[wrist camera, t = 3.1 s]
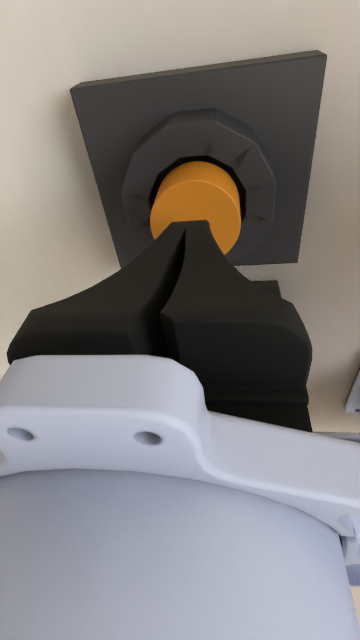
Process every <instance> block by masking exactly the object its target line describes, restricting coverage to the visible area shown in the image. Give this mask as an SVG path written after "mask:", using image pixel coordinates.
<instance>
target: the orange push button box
mask: <svg viewBox="0 0 360 640" xmlns="http://www.w3.org/2000/svg"><path fill="white" fill-rule="evenodd" d="M326 60H327V55H326V54H324V53H322V52H320V51H318V50H315V51H308V52H301V53H293V54H286V55H279V56H271V57H264V58H257V59H249V60H242V61H235V62H228V63H220V64H213V65H206V66H198V67H191V68H184V69H176V70H169V71H162V72H155V73H147V74H140V75H133V76H125V77H118V78H111V79H104V80H96V81H89V82H82V83H80V84H78V85H76V86H74V87H72V88H71V89H70V93H71V96H72V100H73V103H74V107H75V110H76V114H77V117H78V120H79V124H80V127H81V131H82V134H83V138H84V141H85V145H86V148H87V152H88V155H89V159H90V162H91V166H92V169H93V173H94V176H95V180H96V183H97V186H98V190H99V193H100V197H101V200H102V204H103V207H104V211H105V214H106V218H107V221H108V225H109V228H110V232H111V235H112V239H113V242H114V246H115V249H116V253H117V256H118V259H119V263H120V266H121V269H122V268H124V267H125V266H126V265H128V264H129V263H130V262H131V261H133V260H134V259H135V258H136V257H137V256H138V255H139V254H141V253H142V252H143V251H144V250H145V249H146V248H147V247H148V246H149V245H150V244H151V243H152V242H153V241H154V240H155V239H154V237H153V235H152V231H151V227H150V215H151V210H152V207H153V204H154V201H155V199H156V196H157V193H158V190H159V187H160V185H161V183H162V181H163V180H164V178H165V177H166V176H167V174H168V173H169V172H171V171H172V170H173V169H174V168H176V167H177V166H180V165H182V164H184V163H188V162H193V161H202V162H208V163H212V164H214V165H217V166H218V167H220V168H222V169H223V170H224V171H226V172H227V173H228V174H229V175H230V177H231V178H232V179H233V181H234V183H235V185H236V187H237V190H238V194H239V202H240V215H241V229H240V233H239V236H238V239H237V241H236V242H235V244H234V245H233V247H232V248H231V249H230V250H229V251H228V252H227V253H226V254H225V256H226V258H227V259H228V260H229V261H230V263H231V264H232V265H233V266H238V265H260V264H282V263H297V262H298V256H299V249H300V242H301V235H302V228H303V221H304V214H305V207H306V200H307V193H308V186H309V179H310V172H311V165H312V158H313V151H314V144H315V137H316V130H317V123H318V116H319V109H320V102H321V95H322V88H323V81H324V74H325V67H326Z"/></svg>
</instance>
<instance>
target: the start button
mask: <svg viewBox="0 0 360 640" xmlns="http://www.w3.org/2000/svg"><path fill="white" fill-rule="evenodd" d="M194 220H207V221H208V222H210V229H211V232H212V234H213V237H214V239H215V241H216V242H217V244H218V246H219V248H220V249H221V251H222V252H223V254H224V255H225V254H226V253H227V252H228V251H229V250H230V249H231V248H232V247H233V245H234V244H235V242H236V241H237V239H238V236H239V233H240V229H241V215H240V202H239V194H238V190H237V187H236V185H235V183H234V181H233V179H232V178H231V177H230V175H229V174H228V173H227V172H226V171H224V170H223V169H222V168H220V167H218V166H217V165H214V164H212V163H208V162H202V161H193V162H188V163H184V164H182V165H180V166H177V167H176V168H174V169H173V170H172V171H171V172H169V173H168V174H167V176H166V177H165V178H164V180H163V181H162V183H161V185H160V187H159V190H158V193H157V196H156V199H155V201H154V204H153V207H152V210H151V215H150V227H151V231H152V235H153V237H154V239H156V238H157V237H158V236H159V235H160V234H161V233H162V232H163V231H164V230H165V229H166V228H167V226H168V225H169V224H170V223H171V222H179V221H194Z"/></svg>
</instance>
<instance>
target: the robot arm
mask: <svg viewBox="0 0 360 640" xmlns="http://www.w3.org/2000/svg"><path fill="white" fill-rule="evenodd" d="M7 358H8V363H9V364H10V367H9V368H8V370H7V371H6V373H5V374H4V376H3V378H2V379H1V381H0V640H360V630H359V626H358V621H357V616H356V612H355V607H354V602H353V598H352V593H351V589H350V587H360V433H338V432H312V427H311V422H310V417H309V412H308V408H307V405H308V402H309V397H308V393H307V388H306V383H307V379H308V375H309V370H310V366H311V362H312V346H311V342H310V339H309V336H308V333H307V331H306V329H305V326H304V324H303V322H302V320H301V318H300V316H299V314H298V312H297V311H296V309H295V307H294V305H293V304H292V303H291V302H288V301H286V300H284V299H282V298H279V297H277V296H275V295H273V294H270V293H268V292H267V291H265V290H263V289H262V288H260V287H258V286H257V285H255V284H254V283H252V282H251V281H250V280H248V279H247V278H246V277H244V276H243V275H242V274H241V273H240V272H239V271H238V270H237V269H236V268H235V267H234V266H233V265H232V264H231V263H230V261H229V260H228V259H227V258H226V256H225V255H224V254H223V252H222V251H221V249H220V248H219V246H218V244H217V242H216V241H215V239H214V237H213V234H212V232H211V229H210V222H208V221H207V220H194V221H179V222H171V223H170V224H169V225H168V226H167V228H166V229H165V230H164V231H163V232H162V233H161V234H160V235H159V236H158V237H157V238H156V239H155V240H154V241H153V242H152V243H151V244H150V245H149V246H148V247H147V248H146V249H145V250H144V251H143V252H142V253H141V254H139V255H138V256H137V257H136V258H135V259H134V260H133V261H131V262H130V263H129V264H128V265H126V266H125V267H124V268H122V269H121V270H119V271H118V272H116V273H115V274H113V275H112V276H110V277H108V278H107V279H105V280H103V281H101V282H99V283H98V284H96V285H94V286H92V287H90V288H88V289H86V290H84V291H82V292H80V293H78V294H75V295H73V296H71V297H68V298H66V299H63V300H61V301H58V302H55V303H52V304H49V305H46V306H43V307H40V308H37V309H34V310H31V312H30V313H29V315H28V316H27V318H26V319H25V321H24V322H23V324H22V326H21V327H20V329H19V330H18V332H17V334H16V335H15V337H14V338H13V340H12V342H11V343H10V345H9V348H8V351H7ZM345 410H346V412H348V413H360V370H359V373H358V375H357V378H356V380H355V383H354V385H353V388H352V390H351V393H350V395H349V398H348V400H347V403H346V405H345Z"/></svg>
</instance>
